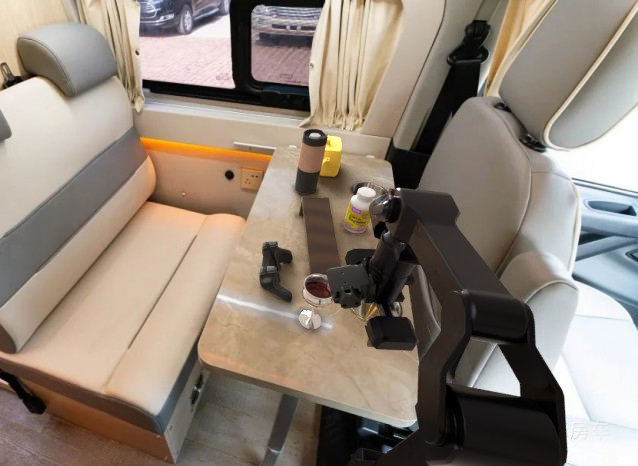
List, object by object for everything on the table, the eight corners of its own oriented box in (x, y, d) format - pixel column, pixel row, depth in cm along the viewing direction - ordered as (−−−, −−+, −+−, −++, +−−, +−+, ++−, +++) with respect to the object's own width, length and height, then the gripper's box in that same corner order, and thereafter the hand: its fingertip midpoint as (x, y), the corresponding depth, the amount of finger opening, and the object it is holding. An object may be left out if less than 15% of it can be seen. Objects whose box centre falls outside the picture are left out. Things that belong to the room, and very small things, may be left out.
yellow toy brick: (339, 184, 116) (347, 154, 108) (303, 180, 118) (309, 150, 110) (337, 157, 130) (344, 128, 122) (305, 153, 132) (311, 125, 124)
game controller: (271, 260, 92) (256, 235, 86) (294, 255, 89) (280, 229, 84) (267, 309, 80) (250, 283, 75) (294, 304, 77) (278, 277, 72)
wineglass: (320, 337, 71) (332, 304, 63) (290, 325, 74) (298, 291, 66) (328, 314, 76) (341, 280, 68) (300, 303, 78) (309, 269, 70)
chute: (341, 276, 84) (348, 257, 79) (310, 275, 84) (315, 256, 80) (324, 214, 103) (328, 196, 98) (298, 214, 103) (301, 196, 99)
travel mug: (292, 192, 112) (301, 137, 99) (295, 180, 117) (304, 127, 104) (315, 196, 110) (327, 141, 97) (317, 184, 116) (329, 130, 102)
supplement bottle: (340, 230, 97) (351, 194, 89) (345, 217, 102) (356, 182, 93) (363, 237, 95) (377, 201, 86) (367, 224, 99) (381, 188, 91)
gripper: (326, 221, 56) (310, 280, 66) (352, 314, 42) (327, 370, 52) (392, 223, 55) (366, 282, 66) (441, 318, 42) (398, 374, 52)
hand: (362, 322), depth 59 cm, fingers open, 9 cm apart
